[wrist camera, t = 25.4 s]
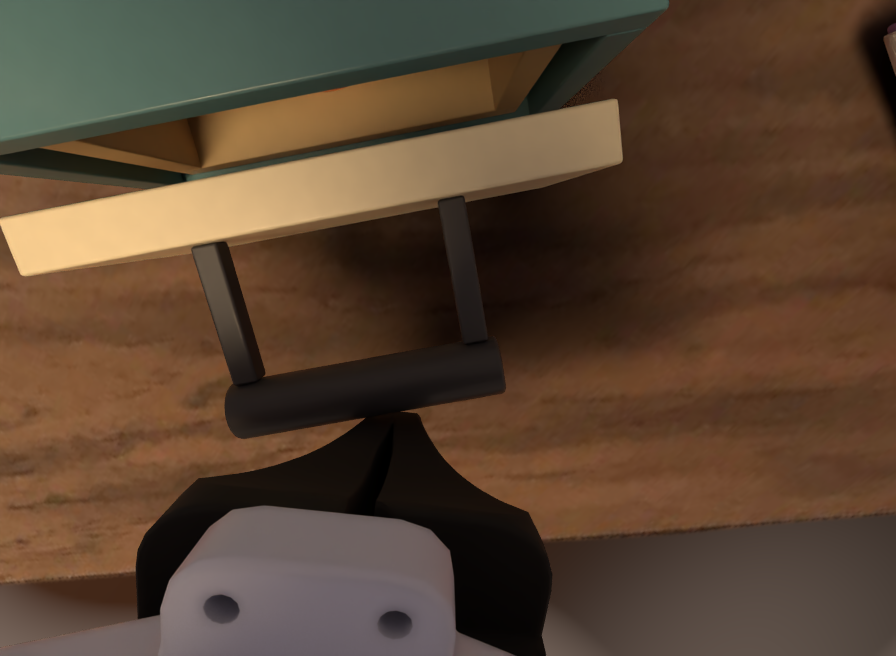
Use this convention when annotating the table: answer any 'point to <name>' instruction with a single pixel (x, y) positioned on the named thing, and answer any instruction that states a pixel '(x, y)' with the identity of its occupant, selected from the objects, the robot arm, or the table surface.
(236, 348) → the drawer
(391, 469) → the robot arm
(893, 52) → the infrared thermometer
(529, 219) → the table surface
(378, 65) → the cabinet
